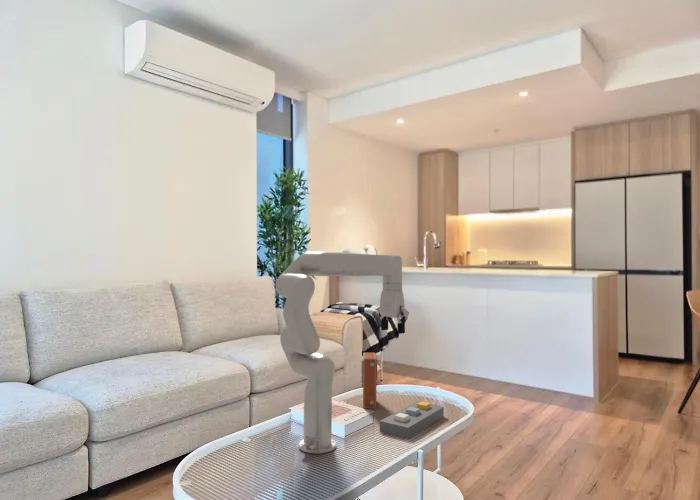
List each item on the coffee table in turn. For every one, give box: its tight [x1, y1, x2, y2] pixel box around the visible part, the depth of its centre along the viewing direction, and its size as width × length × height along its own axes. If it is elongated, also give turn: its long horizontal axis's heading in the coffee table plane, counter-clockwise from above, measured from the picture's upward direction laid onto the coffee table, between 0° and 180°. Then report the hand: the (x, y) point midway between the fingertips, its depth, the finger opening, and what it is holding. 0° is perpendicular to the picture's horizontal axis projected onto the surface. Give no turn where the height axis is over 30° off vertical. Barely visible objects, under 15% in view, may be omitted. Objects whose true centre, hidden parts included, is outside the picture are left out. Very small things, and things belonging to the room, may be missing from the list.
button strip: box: [379, 401, 445, 440], centre depth 188 cm, size 30×12×4 cm, turn 145°
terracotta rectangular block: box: [360, 352, 378, 409], centre depth 213 cm, size 21×7×15 cm
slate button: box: [406, 407, 420, 416], centre depth 188 cm, size 4×4×3 cm
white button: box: [394, 413, 409, 423], centre depth 181 cm, size 4×4×3 cm
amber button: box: [417, 401, 431, 410], centre depth 196 cm, size 4×4×3 cm
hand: (392, 331), depth 187 cm, fingers open, 9 cm apart
